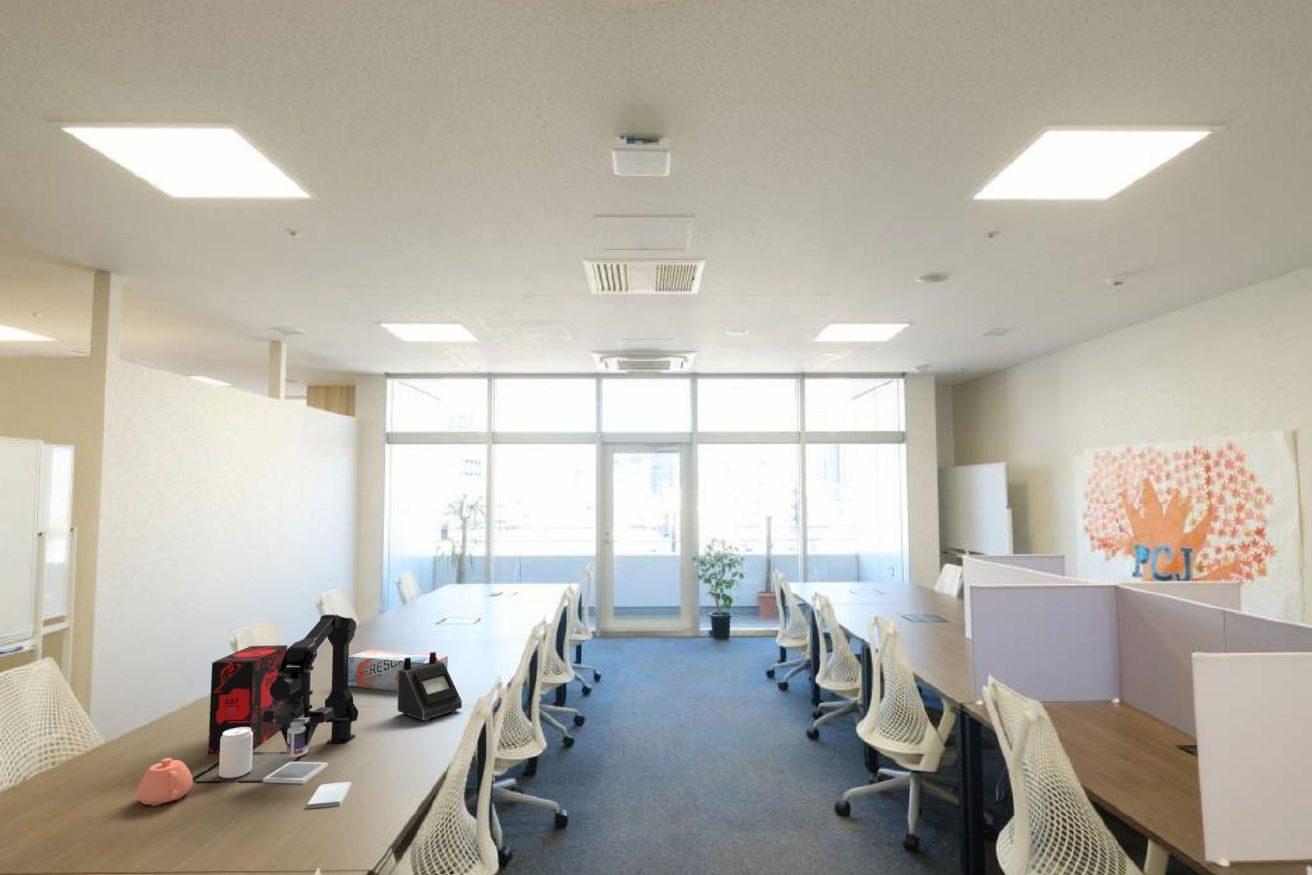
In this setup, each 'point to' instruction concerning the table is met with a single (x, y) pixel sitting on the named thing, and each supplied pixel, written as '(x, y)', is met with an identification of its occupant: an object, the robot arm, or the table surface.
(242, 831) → the table surface
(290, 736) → the pill bottle
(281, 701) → the box
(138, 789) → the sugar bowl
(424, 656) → the soda box
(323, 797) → the hard drive
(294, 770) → the base slab
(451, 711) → the voltmeter
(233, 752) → the beverage can
